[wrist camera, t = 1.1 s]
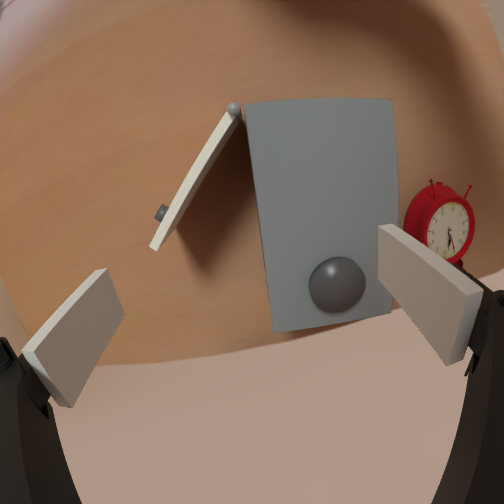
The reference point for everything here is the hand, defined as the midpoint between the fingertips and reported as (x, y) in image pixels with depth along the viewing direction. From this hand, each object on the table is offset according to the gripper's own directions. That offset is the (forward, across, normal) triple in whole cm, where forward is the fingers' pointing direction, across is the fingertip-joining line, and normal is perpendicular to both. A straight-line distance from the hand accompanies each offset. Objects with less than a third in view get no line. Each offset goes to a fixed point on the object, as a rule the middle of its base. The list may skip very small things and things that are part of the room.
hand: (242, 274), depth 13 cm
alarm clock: (+20, +24, -8) cm, 32 cm away
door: (+19, -4, +4) cm, 20 cm away
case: (+19, +7, -2) cm, 20 cm away
